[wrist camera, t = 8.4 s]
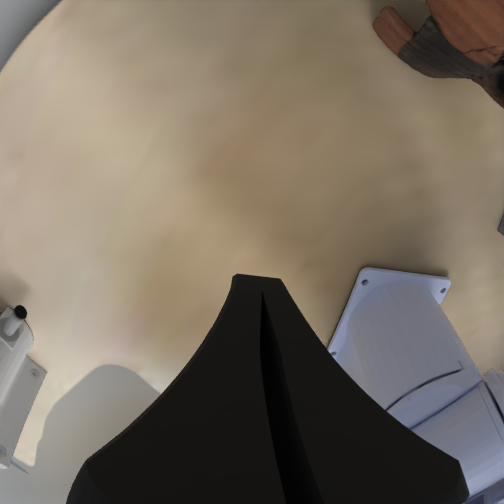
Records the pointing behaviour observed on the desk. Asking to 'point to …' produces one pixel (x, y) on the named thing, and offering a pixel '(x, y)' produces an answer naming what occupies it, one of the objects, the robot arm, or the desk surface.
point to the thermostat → (15, 380)
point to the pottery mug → (452, 42)
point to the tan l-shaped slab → (501, 227)
